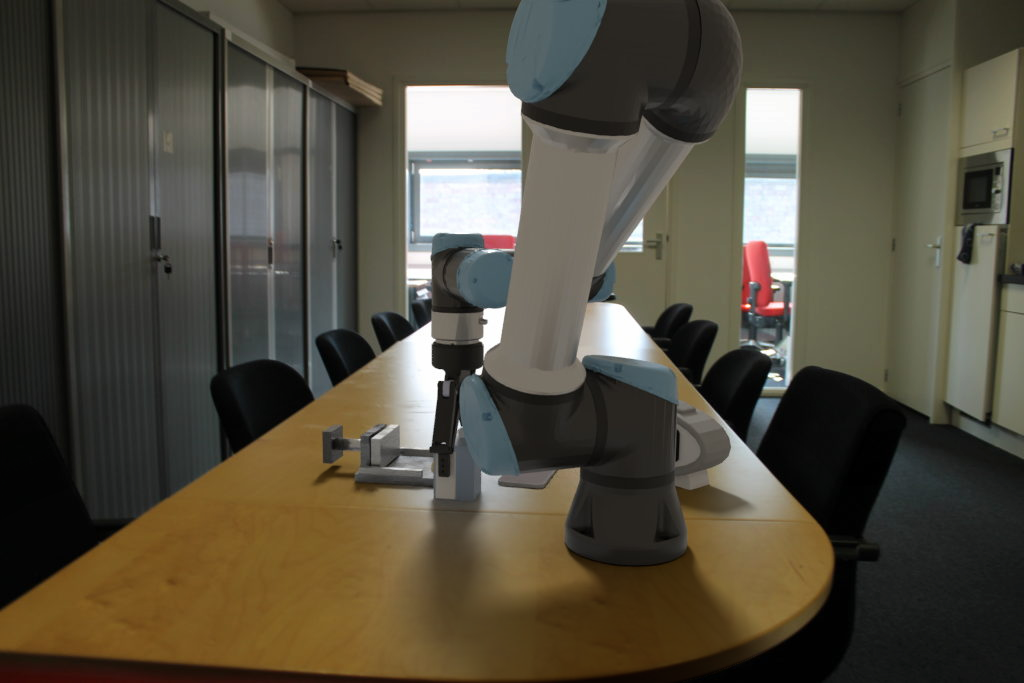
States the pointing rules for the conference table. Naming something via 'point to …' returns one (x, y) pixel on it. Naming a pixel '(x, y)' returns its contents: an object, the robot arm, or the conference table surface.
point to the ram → (382, 445)
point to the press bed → (395, 464)
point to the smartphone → (527, 479)
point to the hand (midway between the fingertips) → (457, 483)
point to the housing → (462, 473)
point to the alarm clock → (697, 446)
